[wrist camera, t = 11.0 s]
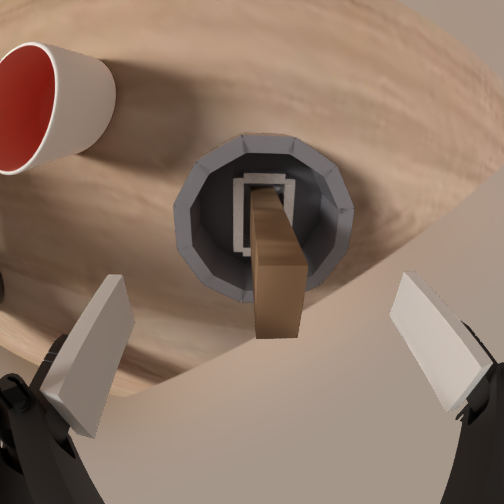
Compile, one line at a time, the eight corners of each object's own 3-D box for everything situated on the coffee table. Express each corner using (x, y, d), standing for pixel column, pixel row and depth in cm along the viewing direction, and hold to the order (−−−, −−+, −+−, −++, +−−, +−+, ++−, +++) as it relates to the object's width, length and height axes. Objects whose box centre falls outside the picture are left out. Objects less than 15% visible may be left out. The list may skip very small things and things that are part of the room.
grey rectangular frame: (234, 243, 26) (233, 256, 24) (234, 168, 23) (233, 172, 20) (285, 244, 26) (289, 256, 24) (290, 169, 23) (295, 174, 21)
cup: (137, 116, 21) (78, 118, 12) (64, 171, 23) (0, 200, 14) (101, 39, 17) (41, 15, 8) (33, 99, 19) (-32, 105, 10)
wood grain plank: (249, 229, 25) (256, 338, 13) (250, 186, 23) (259, 265, 11) (271, 229, 25) (297, 337, 13) (273, 186, 24) (308, 265, 11)
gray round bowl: (194, 266, 28) (183, 301, 23) (187, 133, 22) (169, 137, 17) (321, 267, 28) (337, 300, 23) (335, 138, 23) (361, 144, 17)
